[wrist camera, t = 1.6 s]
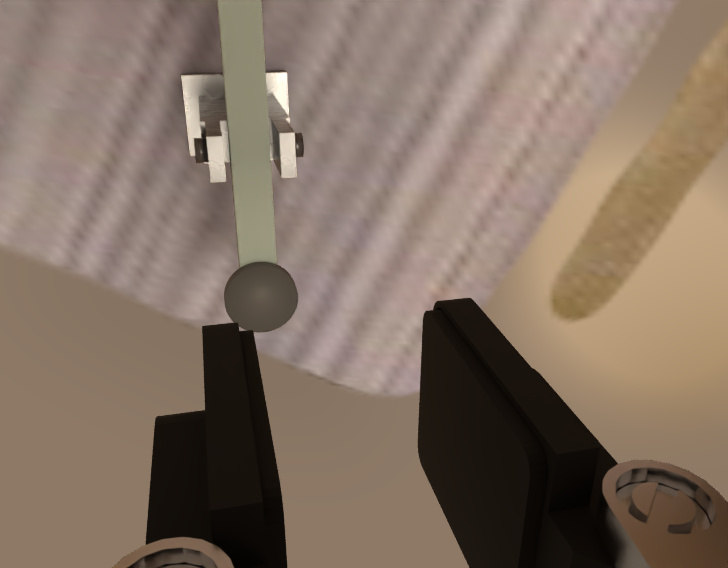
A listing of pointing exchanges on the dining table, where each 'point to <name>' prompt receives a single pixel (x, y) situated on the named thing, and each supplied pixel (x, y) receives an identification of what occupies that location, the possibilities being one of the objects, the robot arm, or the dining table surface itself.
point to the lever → (251, 174)
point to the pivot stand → (212, 131)
